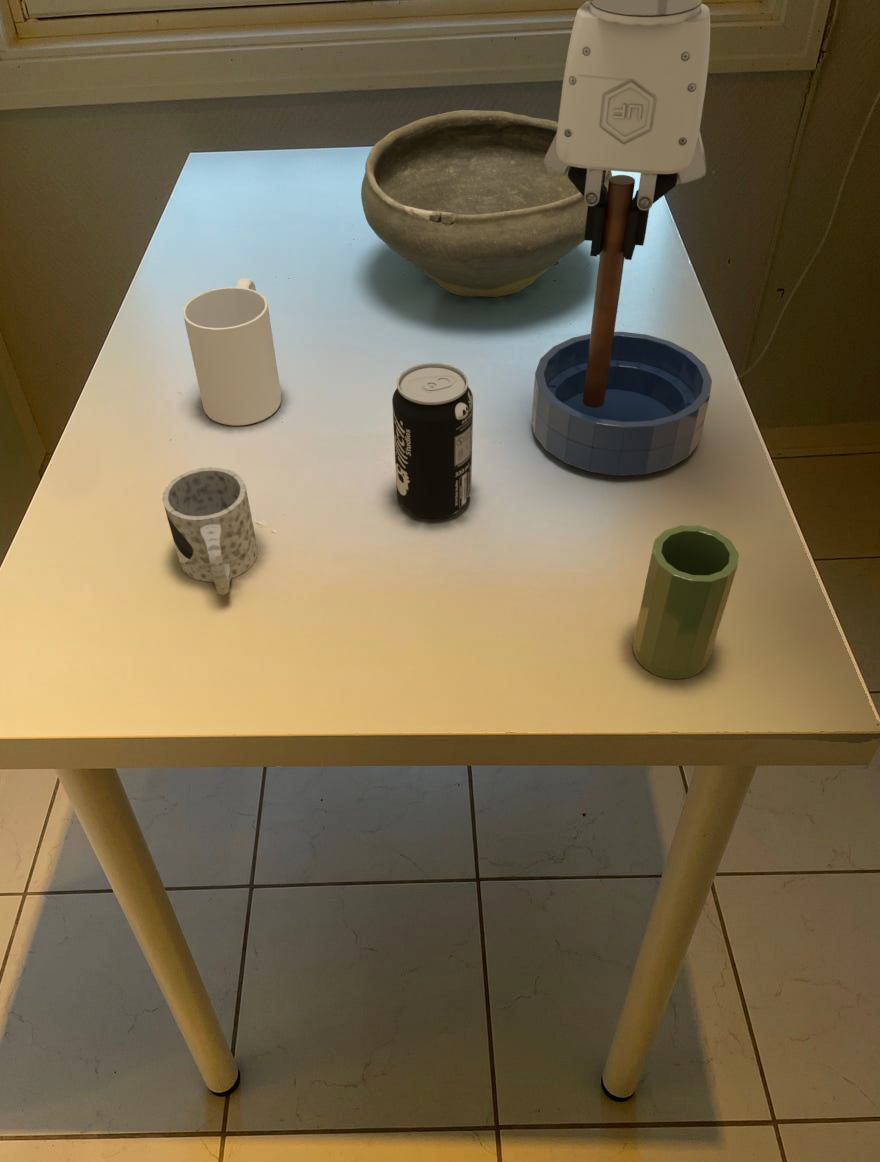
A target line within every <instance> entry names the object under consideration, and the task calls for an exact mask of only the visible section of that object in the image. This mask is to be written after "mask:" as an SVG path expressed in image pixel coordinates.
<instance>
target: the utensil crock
mask: <svg viewBox="0 0 880 1162" xmlns="http://www.w3.org/2000/svg"><path fill="white" fill-rule="evenodd" d="M739 556H740V555H739V552H738V550H737V549H736V547H735V545H734V544H733V542H732V540H730V539H729V538H727V537H726V536H725V535H723V534H722V533H720V532H719V531H717V530H714V529H710V528H708V527H704V526H701V525H678V526H675V527H672V528H669V529H665V530H664V531H663V532H662V533H661V534H660V535H658V537H656V538H655V540H654V541H653V546H652V551H651V555H650V560H649V565H648V570H647V574H646V579H645V585H644V589H643V595H642V599H641V603H640V607H639V608H640V609H639V611H638V617H637V621H636V622H637V623H636V625H635V626H636V627H635V631H634V637H633V642H632V652H633V655H634V657H635V659H636V661H637V662H638V663H639V665H641V667H642V668H644V669H645V670H646V671H647V672H649V673H651V674H653V675H656V676H658V677H660V678H665V679H671V680H682V679H687V678H692V677H694V676H696V675H698V674H699V673H700V672H702V671H703V670H704V669H705V668H706V666H707V664H708V662H709V658H710V657H711V655H712V653H713V652H712V651H713V649H714V645H715V642H716V639H717V636H718V632H719V628H720V625H721V622H722V619H723V615H724V612H725V609H726V606H727V603H728V599H729V597H730V593H731V589H732V586H733V582H734V579H735V576H736V573H737V569H738V566H739Z"/></svg>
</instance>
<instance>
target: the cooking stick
mask: <svg viewBox="0 0 880 1162" xmlns="http://www.w3.org/2000/svg"><path fill="white" fill-rule="evenodd" d="M635 185H636V179H635V178H634V177H633V176H631V175H628V174H627V175H626V174H617V175H612V177H611V178H610V179H609V183H608V192H607V200H606V204H607V205H606V213H605V221H604V230H603V238H602V246H601V252H600V255H599V260H598V269H597V278H596V285H595V293H594V295H595V296H594V303H593V310H592V319H591V328H590V334H591V335H590V344H589V352H588V361H587V369H586V377H585V386H584V394H583V403H584V405H586V406H587V407H590V408H598V407H601V406H603V405H604V403H605V396H606V388H607V381H608V374H609V367H610V359H611V352H612V345H613V338H614V332H615V329H616V323H617V322H616V321H617V316H618V315H617V314H618V308H619V301H620V294H621V286H622V279H623V273H624V272H623V271H624V265H625V258H624V257H623V251H624V243H625V236H626V229H627V221H628V214H629V210H630V206H631V205H632V200H633V197H634V194H635V193H634V191H635Z"/></svg>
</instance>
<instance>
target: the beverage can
mask: <svg viewBox="0 0 880 1162" xmlns="http://www.w3.org/2000/svg"><path fill="white" fill-rule="evenodd" d="M391 402H392V422H393V423H392V424H393V444H394V445H393V446H394V463H395V484H396V497H397V500H398V502H399V504H400V505H401V506H402V507H403V509H405V510H407V511H408V512H409V513H410V514H412V515H414V516H416V517H419V518H422V519H426V520H440V519H445V518H449V517H452V516H453V515H455V514H457V513H458V512H459V511H460V510H462V509H463V508H464V507H465V506H466V505H467V504H468V503H469V502H470V499H471V496H472V473H473V471H472V470H473V433H474V432H473V430H474V429H473V426H474V394H473V391H472V390H471V388H470V386H469V379H468V376H467V374H466V373H465V372H464V371H462V370H461V369H460V368H458V367H456V366H454V365H452V364H448V363H442V362H425V363H420V364H416V365H413V366H411V367H409V368H406V369H405V370H404V371H402V372H401V373H400V375H399V376H398V378H397V380H396V389H395V390H394V392H393V395H392V399H391Z"/></svg>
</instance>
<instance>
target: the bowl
mask: <svg viewBox="0 0 880 1162" xmlns="http://www.w3.org/2000/svg"><path fill="white" fill-rule="evenodd" d="M557 129H558V121H554V120H551V119H546V118H537V117H532V116H528V115H525V114H518V113H513V112H508V111H502V110H475V109H474V110H472V109H471V110H470V109H469V110H466V109H465V110H463V109H461V110H453V111H448V112H443V113H439V114H435V115H430V116H426V117H423V118H420V119H417V120H415V121H412V122H410V123H408V124H406V125H403V126H401V127H399V128H396V129H395V130H392V131H390V132H388V133H387V135H385V136H384V137H383V138H382V139H380V140H379V141H378V142H376V143H375V144H374V145H373V147H372V148H371V150H370V151H369V152H368V156H367V158H366V161H365V164H364V170H365V172H364V175H363V178H362V182H361V189H360V190H361V191H360V198H361V205H362V209H363V210H362V211H363V214H364V217H365V220H366V222H367V224H368V226H369V227H370V229H371V230H372V231H373V232H374V234H375V235H376V236H377V237H378V239H380V240H381V241H382V242H383V243H384V244H385V245H387V247H388V248H390V249H391V250H392V251H394V252H395V253H396V254H397V255H399V256H400V257H402V258H403V259H404V260H405V261H407V262H408V263H410V264H411V265H413V266H414V267H417V268H418V269H419V270H421V271H422V272H423V273H424V274H425V275H426V276H428V277H429V278H430V279H431V280H433V281H434V282H435V283H437V284H438V285H439V286H441V287H442V288H443V289H444V290H445V291H447V292H448V293H451V294H453V295H457V296H460V297H488V298H496V297H504V296H509V295H513V294H516V293H519V292H521V291H522V290H525V289H526V288H527V287H529V286H530V285H532V284H533V282H535V281H536V280H537V279H538V278H539V277H540V276H542V275H543V274H544V273H546V272H547V271H548V270H549V269H551V268H552V267H553V266H554V265H556V264H557V263H558V262H559V261H560V260H562V259H563V258H564V257H566V256H567V255H569V254H570V253H572V251H574V250H575V249H576V248H578V246H580V245H581V244H582V243H584V242H585V241H586V240H584V238H585V228H586V218H587V209H588V205H587V204H586V203H585V201H584V197H583V195H582V194H581V193H580V192H579V190H578V189H577V188H576V187H575V185H574V184H573V183H572V182H571V181H570V179H569V178H568V177H567V176H565V175H562V174H560V173H558V172H556V171H554V170H552V169H551V168H549V167H547V166H546V165H545V164H544V158H545V156H546V154H547V152H548V149H549V147H550V145H551V143H552V141H553V139H554V137H555V135H556V133H557ZM612 172H613V171H610V170H606V178H605V187H606V188H607V192H608V183H609V179H610V178H611V177H612V176H613V173H612Z"/></svg>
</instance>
